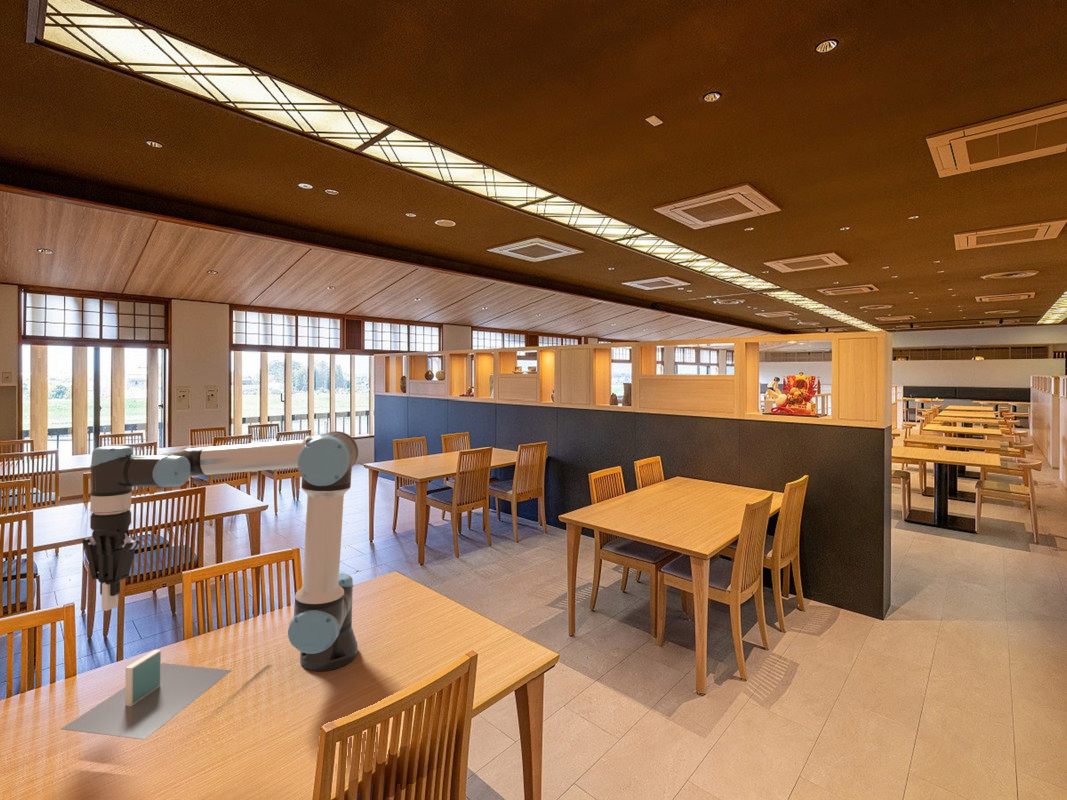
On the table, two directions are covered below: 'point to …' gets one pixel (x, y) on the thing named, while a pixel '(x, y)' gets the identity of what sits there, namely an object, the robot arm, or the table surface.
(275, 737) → the table surface
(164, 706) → the slate board
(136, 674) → the tile
